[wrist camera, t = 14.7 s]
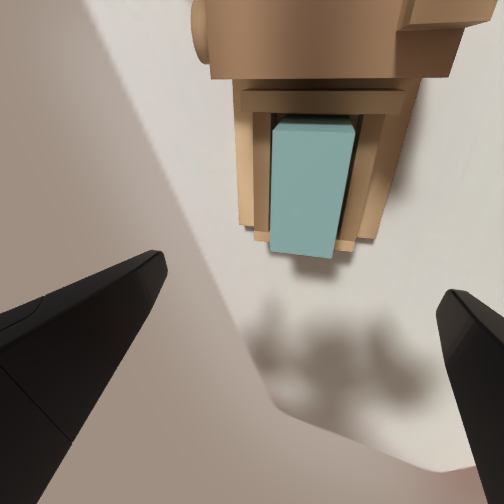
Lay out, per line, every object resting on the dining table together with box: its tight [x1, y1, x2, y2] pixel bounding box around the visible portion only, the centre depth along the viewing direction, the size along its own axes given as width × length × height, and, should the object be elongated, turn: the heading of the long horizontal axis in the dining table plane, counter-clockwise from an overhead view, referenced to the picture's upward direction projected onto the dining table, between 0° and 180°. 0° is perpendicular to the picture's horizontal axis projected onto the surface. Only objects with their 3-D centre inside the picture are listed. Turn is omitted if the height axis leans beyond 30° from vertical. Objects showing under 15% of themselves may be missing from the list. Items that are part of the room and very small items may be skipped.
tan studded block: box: [191, 0, 498, 79], centre depth 11 cm, size 10×4×7 cm, turn 91°
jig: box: [232, 78, 422, 252], centre depth 15 cm, size 10×17×3 cm, turn 1°
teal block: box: [270, 114, 355, 259], centre depth 15 cm, size 4×6×5 cm, turn 1°
